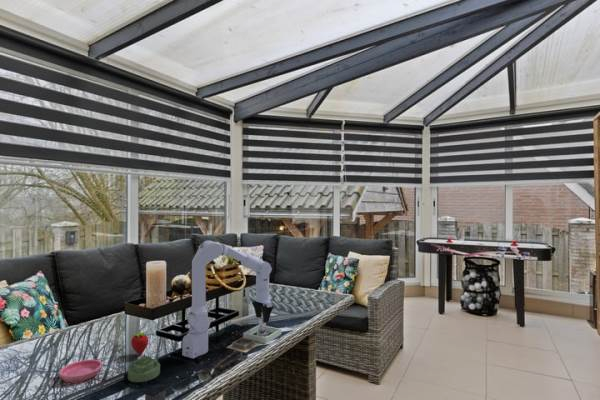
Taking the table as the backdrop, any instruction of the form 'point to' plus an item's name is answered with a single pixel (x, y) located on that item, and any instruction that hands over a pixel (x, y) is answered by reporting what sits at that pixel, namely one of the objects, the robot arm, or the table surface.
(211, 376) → the table surface
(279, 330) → the bin
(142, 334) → the strawberry
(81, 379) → the saucer
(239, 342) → the socket block
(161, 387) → the table surface
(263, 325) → the strut
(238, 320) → the adjustable wrench
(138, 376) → the decorative artifact
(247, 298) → the table surface
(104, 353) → the table surface
